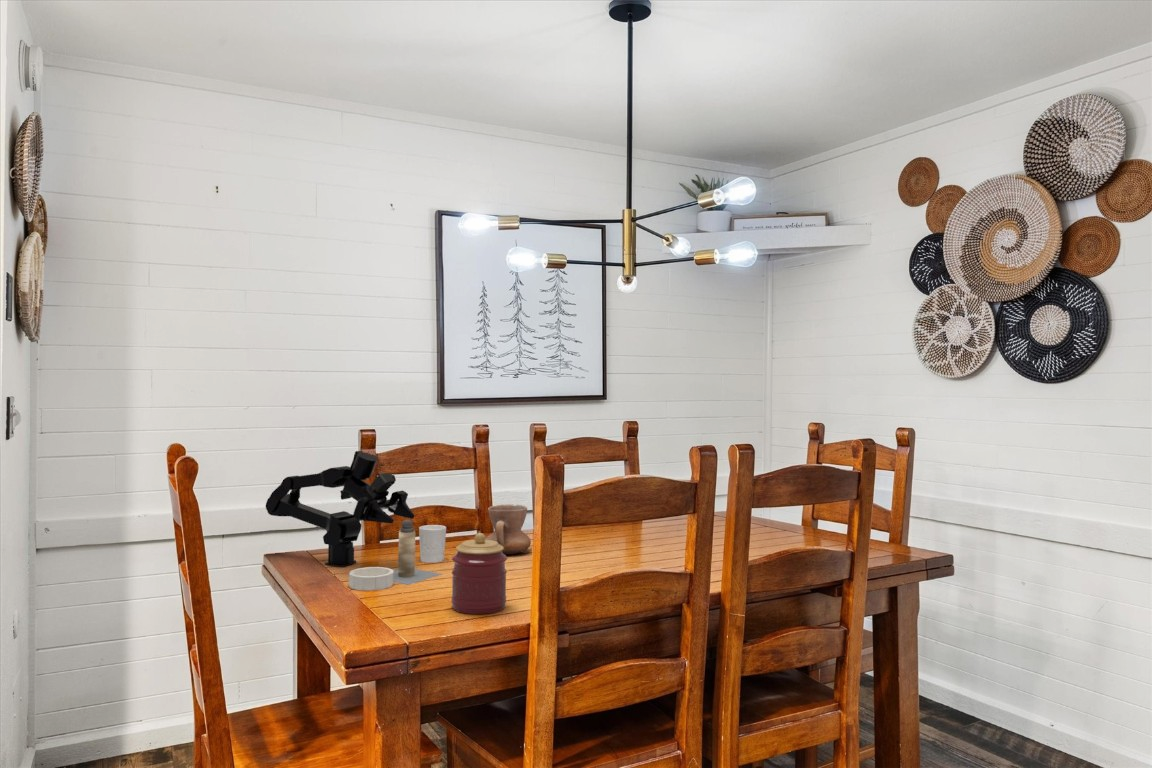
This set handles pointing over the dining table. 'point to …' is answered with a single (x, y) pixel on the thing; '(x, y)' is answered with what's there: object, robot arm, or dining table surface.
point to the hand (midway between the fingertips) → (403, 519)
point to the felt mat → (414, 577)
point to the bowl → (371, 578)
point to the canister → (479, 576)
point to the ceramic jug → (509, 527)
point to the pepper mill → (406, 550)
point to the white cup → (432, 543)
